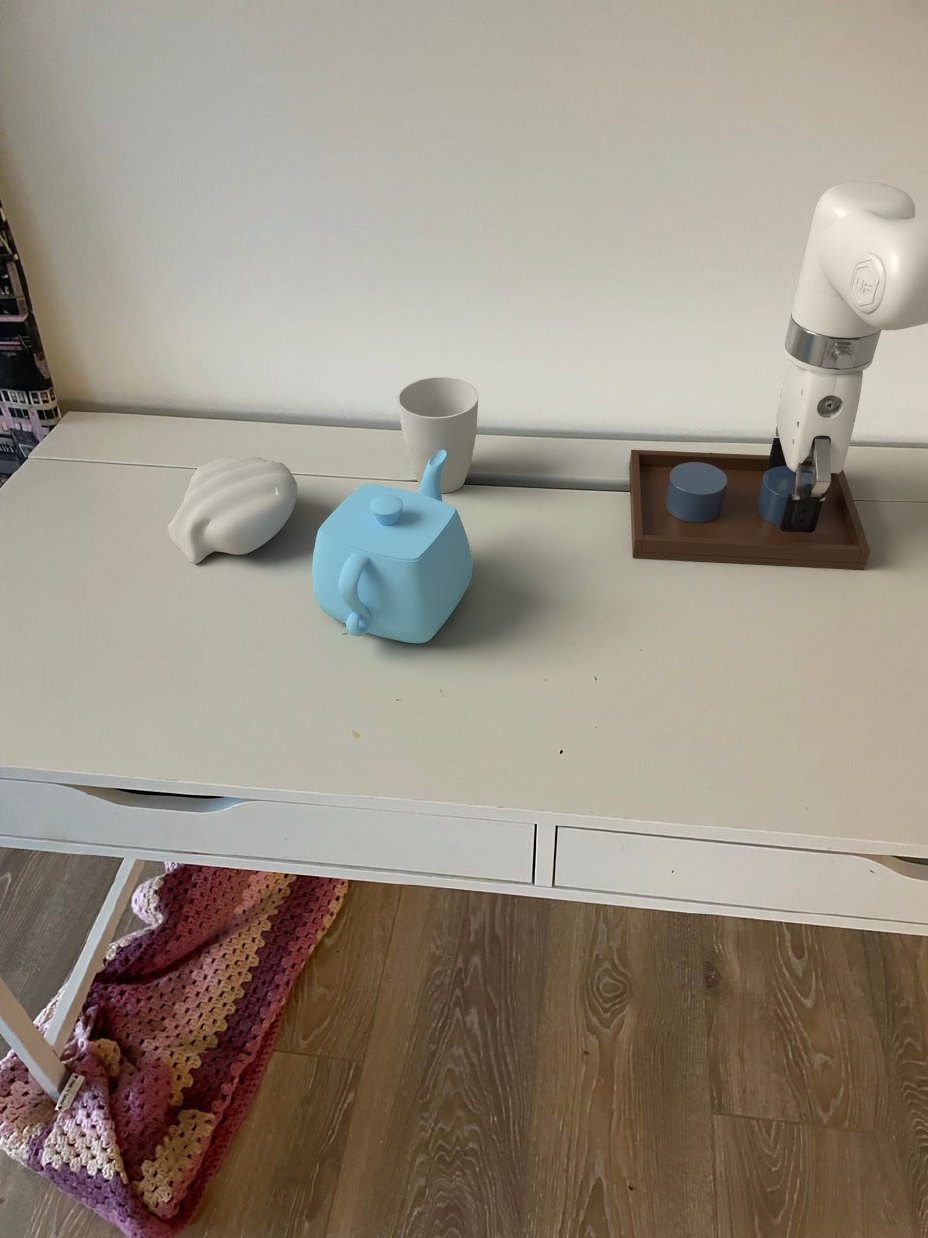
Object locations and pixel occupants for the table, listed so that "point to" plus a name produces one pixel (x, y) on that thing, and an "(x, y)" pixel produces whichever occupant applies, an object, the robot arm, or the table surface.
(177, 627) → the table surface
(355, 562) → the teapot
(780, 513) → the blue-grey hockey puck
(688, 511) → the blue short cylinder
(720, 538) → the tray
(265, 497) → the shell shaped sculpture
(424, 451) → the cup
